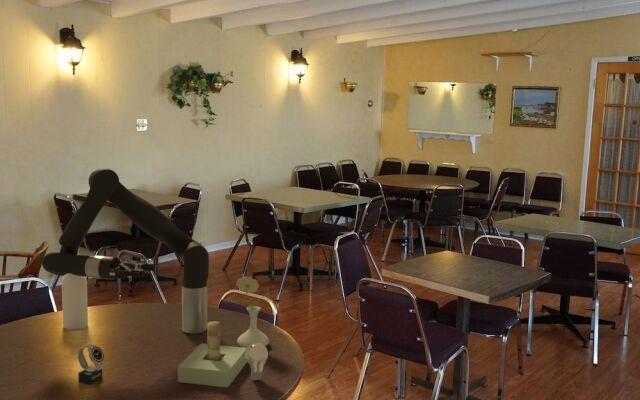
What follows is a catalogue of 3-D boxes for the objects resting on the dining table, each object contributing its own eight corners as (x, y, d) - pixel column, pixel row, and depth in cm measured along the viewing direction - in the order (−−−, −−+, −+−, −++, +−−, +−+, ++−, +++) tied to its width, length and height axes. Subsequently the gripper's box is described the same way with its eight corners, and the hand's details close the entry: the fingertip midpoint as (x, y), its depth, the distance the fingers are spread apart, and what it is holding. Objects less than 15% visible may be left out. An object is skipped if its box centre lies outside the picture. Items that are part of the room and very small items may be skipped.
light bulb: (245, 375, 205) (245, 339, 203) (267, 375, 206) (268, 339, 204) (244, 385, 198) (245, 347, 196) (267, 385, 199) (268, 347, 197)
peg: (209, 368, 210) (209, 320, 208) (221, 369, 209) (221, 321, 207) (205, 373, 206) (205, 324, 204) (217, 374, 205) (217, 326, 203)
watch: (95, 386, 195) (94, 350, 193) (73, 381, 198) (72, 346, 196) (107, 378, 200) (107, 344, 198) (86, 374, 203) (85, 340, 201)
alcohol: (57, 328, 242) (55, 249, 238) (74, 321, 251) (72, 245, 246) (76, 332, 239) (74, 252, 235) (93, 324, 247) (91, 247, 243)
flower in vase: (274, 343, 233) (276, 275, 230) (258, 354, 223) (260, 283, 220) (243, 337, 239) (244, 271, 235) (226, 347, 229) (227, 278, 225)
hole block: (201, 357, 219) (201, 343, 218) (247, 362, 216) (247, 347, 215) (177, 382, 199) (177, 366, 198) (228, 387, 196) (228, 371, 196)
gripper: (91, 261, 207) (139, 264, 205) (113, 251, 221) (158, 254, 219) (91, 284, 209) (139, 287, 206) (113, 273, 222) (158, 276, 220)
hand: (148, 270), depth 212 cm, fingers open, 8 cm apart
